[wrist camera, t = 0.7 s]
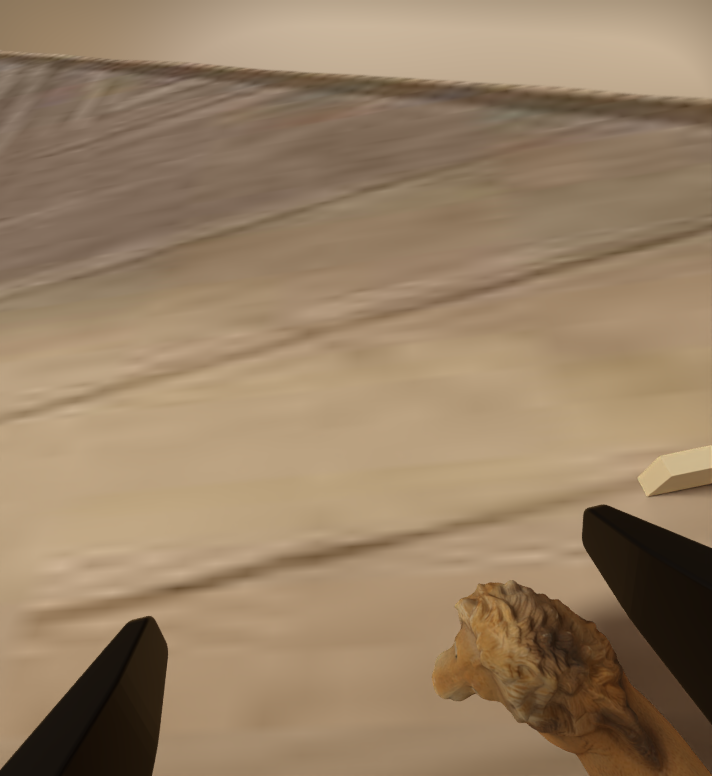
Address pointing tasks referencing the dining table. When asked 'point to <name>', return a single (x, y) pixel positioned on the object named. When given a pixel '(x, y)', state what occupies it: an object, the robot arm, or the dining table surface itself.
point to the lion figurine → (559, 683)
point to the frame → (678, 471)
